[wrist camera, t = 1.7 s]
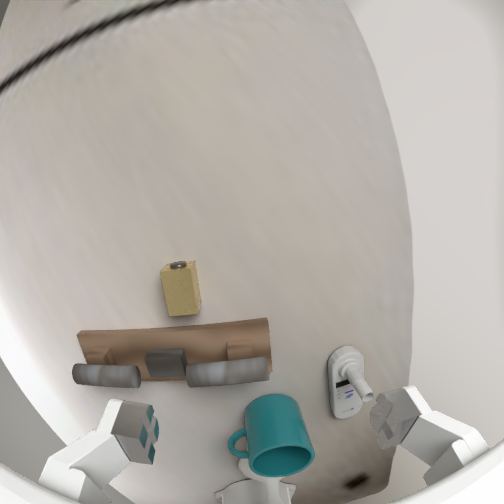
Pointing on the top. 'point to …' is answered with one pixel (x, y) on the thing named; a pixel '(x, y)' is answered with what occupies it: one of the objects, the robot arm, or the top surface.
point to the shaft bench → (175, 337)
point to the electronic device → (347, 382)
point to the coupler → (181, 288)
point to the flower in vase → (270, 483)
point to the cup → (274, 437)
